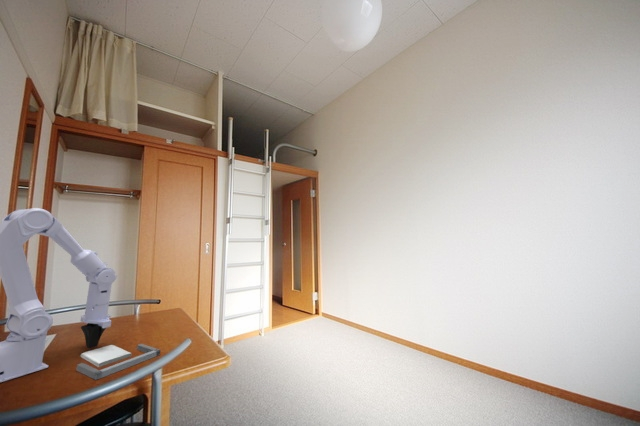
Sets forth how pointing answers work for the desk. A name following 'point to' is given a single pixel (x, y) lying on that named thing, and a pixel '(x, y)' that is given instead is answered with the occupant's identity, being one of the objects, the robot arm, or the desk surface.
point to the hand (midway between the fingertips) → (91, 347)
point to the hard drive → (105, 355)
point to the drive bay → (98, 374)
